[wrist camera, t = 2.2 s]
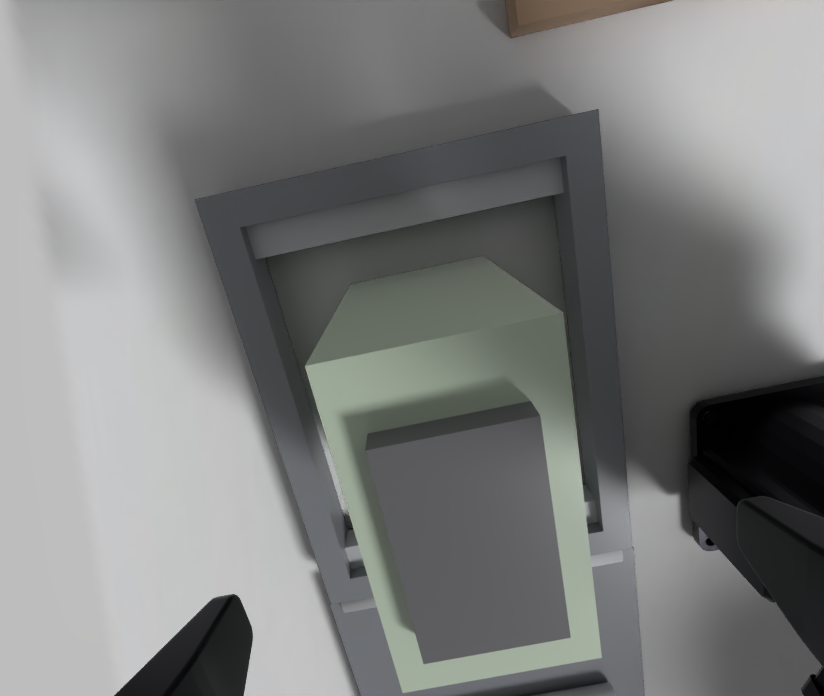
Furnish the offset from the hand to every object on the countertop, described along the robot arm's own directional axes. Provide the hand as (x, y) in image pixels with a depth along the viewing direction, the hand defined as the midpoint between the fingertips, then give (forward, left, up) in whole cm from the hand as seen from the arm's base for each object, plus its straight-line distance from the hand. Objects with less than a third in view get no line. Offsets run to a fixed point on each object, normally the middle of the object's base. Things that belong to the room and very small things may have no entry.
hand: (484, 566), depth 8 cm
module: (0, 0, -9) cm, 9 cm away
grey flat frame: (0, +7, -9) cm, 11 cm away
